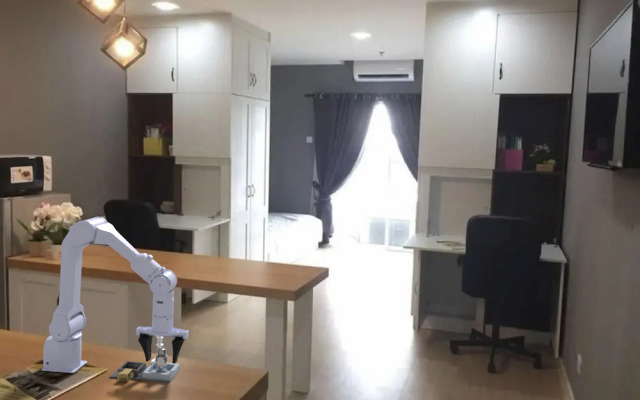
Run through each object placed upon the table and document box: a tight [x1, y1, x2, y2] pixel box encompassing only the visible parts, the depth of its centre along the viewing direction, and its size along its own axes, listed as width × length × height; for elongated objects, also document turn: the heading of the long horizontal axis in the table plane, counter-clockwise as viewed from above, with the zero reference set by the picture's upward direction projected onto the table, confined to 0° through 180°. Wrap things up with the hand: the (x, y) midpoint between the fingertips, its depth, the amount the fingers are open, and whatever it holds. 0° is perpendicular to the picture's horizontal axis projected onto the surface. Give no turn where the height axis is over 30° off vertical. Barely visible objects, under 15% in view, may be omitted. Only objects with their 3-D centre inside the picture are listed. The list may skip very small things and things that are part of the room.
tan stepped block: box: [117, 368, 134, 383], centre depth 152 cm, size 3×4×2 cm
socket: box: [109, 360, 149, 381], centre depth 156 cm, size 9×9×2 cm
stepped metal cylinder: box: [155, 347, 169, 373], centre depth 155 cm, size 3×3×7 cm
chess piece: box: [150, 337, 164, 364], centre depth 163 cm, size 5×5×10 cm
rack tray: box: [141, 362, 181, 383], centre depth 155 cm, size 8×8×2 cm
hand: (161, 361), depth 155 cm, fingers open, 7 cm apart
